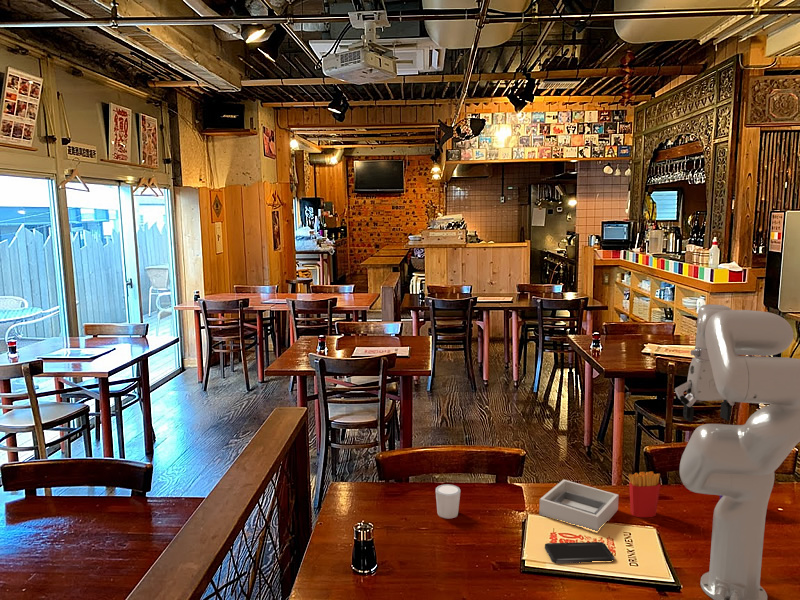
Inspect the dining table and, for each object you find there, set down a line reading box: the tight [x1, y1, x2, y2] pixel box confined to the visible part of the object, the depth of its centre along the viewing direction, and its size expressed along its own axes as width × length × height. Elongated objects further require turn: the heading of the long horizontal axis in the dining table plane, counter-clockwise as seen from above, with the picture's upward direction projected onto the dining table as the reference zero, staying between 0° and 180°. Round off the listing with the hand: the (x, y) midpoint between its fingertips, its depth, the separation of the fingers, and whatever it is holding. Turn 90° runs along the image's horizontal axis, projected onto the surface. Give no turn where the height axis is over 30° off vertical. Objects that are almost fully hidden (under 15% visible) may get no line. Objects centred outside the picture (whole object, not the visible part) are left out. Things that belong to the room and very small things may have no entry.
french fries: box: [627, 471, 661, 518], centre depth 162 cm, size 8×4×12 cm, turn 96°
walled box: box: [538, 478, 620, 531], centre depth 164 cm, size 16×16×4 cm
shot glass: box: [435, 483, 461, 520], centre depth 163 cm, size 7×7×7 cm
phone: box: [544, 541, 615, 565], centre depth 144 cm, size 8×1×15 cm
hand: (706, 419), depth 151 cm, fingers open, 9 cm apart
